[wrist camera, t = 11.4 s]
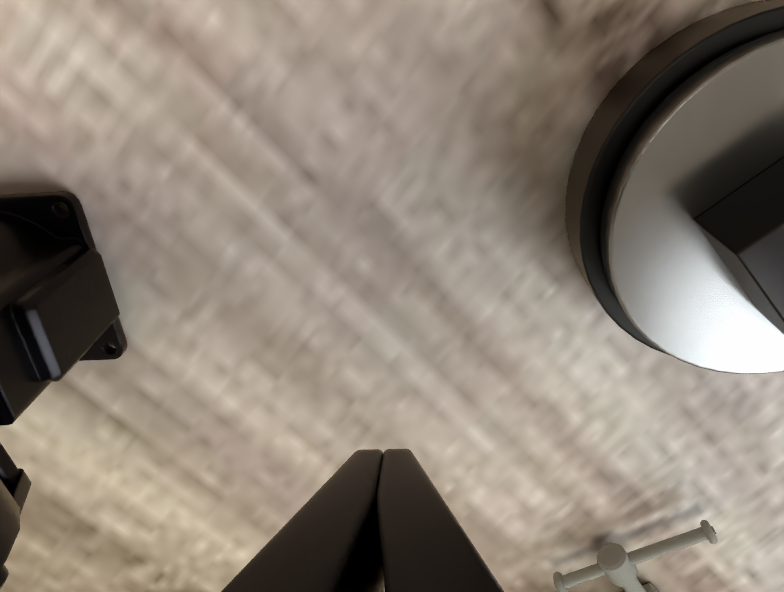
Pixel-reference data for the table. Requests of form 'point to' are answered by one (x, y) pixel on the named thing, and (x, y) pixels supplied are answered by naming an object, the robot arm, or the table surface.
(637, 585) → the clamp
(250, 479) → the table surface
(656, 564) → the table surface
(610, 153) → the swivel base
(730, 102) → the swivel clamp
